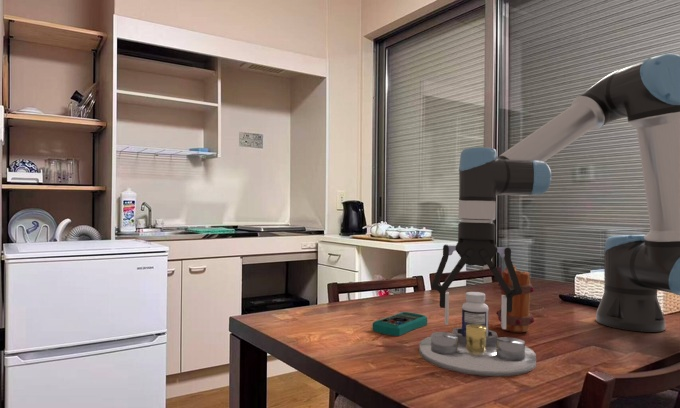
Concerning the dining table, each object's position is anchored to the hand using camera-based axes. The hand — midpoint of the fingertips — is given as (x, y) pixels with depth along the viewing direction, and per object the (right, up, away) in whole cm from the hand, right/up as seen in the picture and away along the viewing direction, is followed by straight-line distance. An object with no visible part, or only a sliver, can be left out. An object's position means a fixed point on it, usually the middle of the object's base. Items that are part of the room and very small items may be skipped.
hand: (474, 325), depth 98 cm
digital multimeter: (-14, -5, +14) cm, 21 cm away
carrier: (-2, -4, -6) cm, 8 cm away
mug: (+14, -5, +17) cm, 22 cm away
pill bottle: (0, -3, 0) cm, 3 cm away
